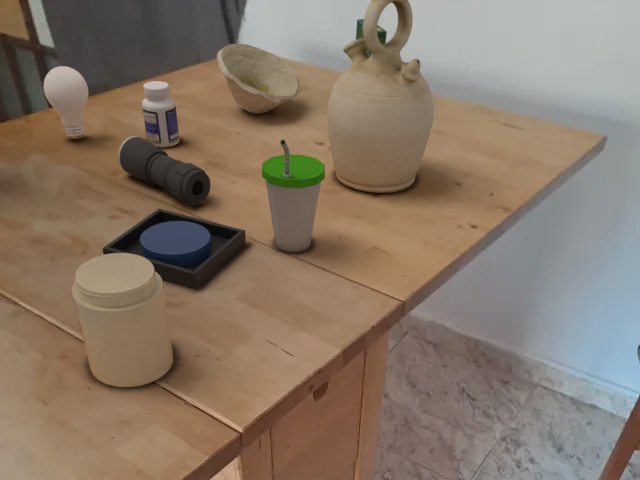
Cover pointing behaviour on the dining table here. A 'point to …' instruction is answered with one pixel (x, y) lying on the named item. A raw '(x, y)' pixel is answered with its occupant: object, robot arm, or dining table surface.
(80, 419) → the dining table surface
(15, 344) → the dining table surface
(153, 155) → the flashlight
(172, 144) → the pill bottle
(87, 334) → the jar
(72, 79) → the light bulb
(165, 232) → the lid
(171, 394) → the dining table surface
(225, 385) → the dining table surface
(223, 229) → the tray
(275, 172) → the cup
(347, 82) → the jug
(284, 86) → the bowl
